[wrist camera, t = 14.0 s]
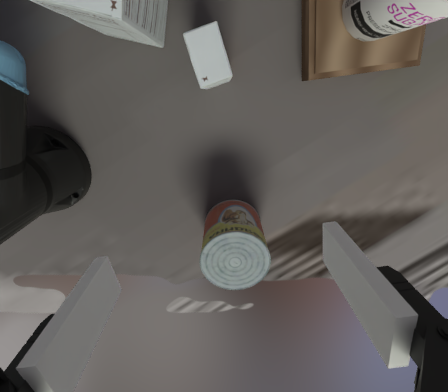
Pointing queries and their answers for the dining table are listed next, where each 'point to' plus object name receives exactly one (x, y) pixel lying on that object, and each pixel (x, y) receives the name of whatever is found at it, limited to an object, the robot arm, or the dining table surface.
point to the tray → (350, 45)
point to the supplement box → (117, 17)
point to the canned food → (234, 246)
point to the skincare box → (208, 55)
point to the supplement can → (389, 16)
